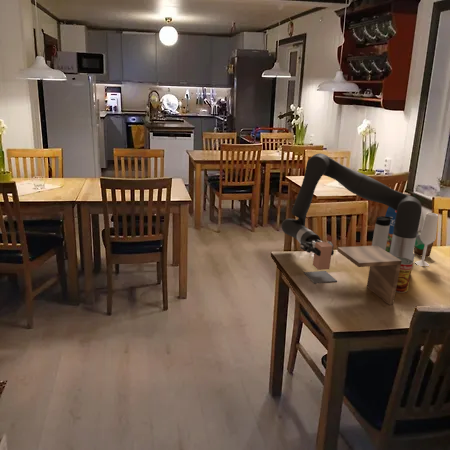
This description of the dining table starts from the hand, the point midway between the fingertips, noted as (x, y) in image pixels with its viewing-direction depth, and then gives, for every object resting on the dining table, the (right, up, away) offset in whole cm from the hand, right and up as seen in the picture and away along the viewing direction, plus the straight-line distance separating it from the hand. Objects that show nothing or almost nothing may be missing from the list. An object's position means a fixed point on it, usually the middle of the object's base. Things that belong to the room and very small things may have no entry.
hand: (326, 253), depth 181 cm
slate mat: (-1, -10, +6) cm, 12 cm away
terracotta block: (-1, -6, +5) cm, 7 cm away
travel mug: (+31, -4, +32) cm, 44 cm away
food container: (+54, -3, +41) cm, 68 cm away
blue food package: (+42, -2, +40) cm, 58 cm away
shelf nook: (+11, -16, -9) cm, 22 cm away
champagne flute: (+50, -7, +27) cm, 57 cm away
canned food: (+28, -14, 0) cm, 32 cm away
